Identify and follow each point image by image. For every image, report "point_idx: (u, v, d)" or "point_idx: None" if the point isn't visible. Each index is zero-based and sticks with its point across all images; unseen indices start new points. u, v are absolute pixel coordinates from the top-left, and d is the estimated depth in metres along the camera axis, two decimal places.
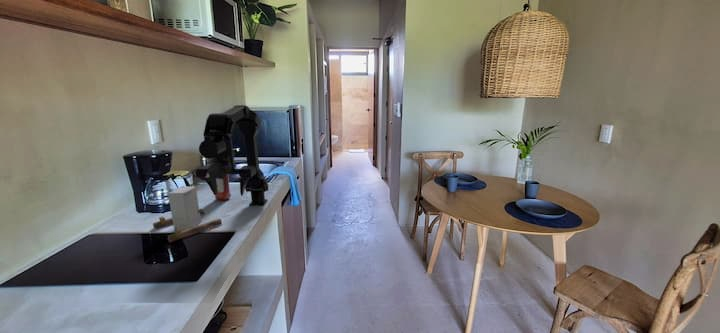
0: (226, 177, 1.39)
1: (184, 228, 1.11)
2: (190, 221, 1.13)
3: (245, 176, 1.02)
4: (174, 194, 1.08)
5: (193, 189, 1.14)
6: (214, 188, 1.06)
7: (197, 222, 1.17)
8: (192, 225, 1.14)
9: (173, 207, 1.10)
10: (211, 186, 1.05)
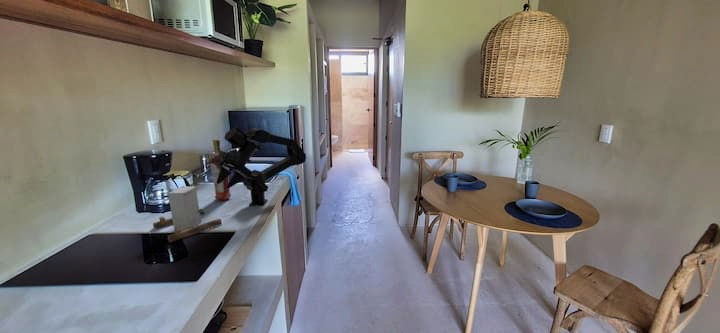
0: None
1: (184, 228, 1.11)
2: (190, 221, 1.13)
3: (237, 168, 1.19)
4: (174, 194, 1.08)
5: (193, 189, 1.14)
6: (220, 177, 1.26)
7: (197, 222, 1.17)
8: (192, 225, 1.14)
9: (173, 207, 1.10)
10: (219, 174, 1.26)
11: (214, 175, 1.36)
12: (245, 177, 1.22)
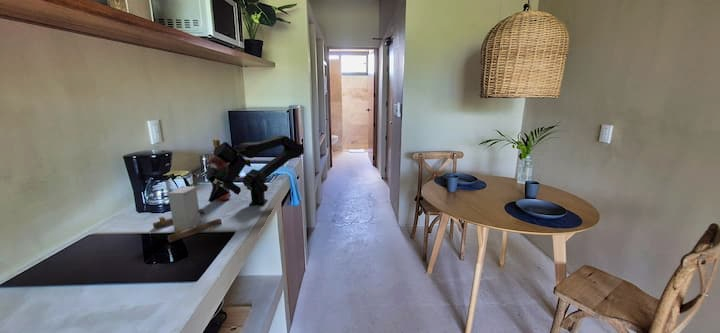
0: None
1: (184, 228, 1.11)
2: (190, 221, 1.13)
3: (225, 185, 1.16)
4: (174, 194, 1.08)
5: (193, 189, 1.14)
6: None
7: (197, 222, 1.17)
8: (192, 225, 1.14)
9: (173, 207, 1.10)
10: (212, 192, 1.21)
11: None
12: (228, 191, 1.22)
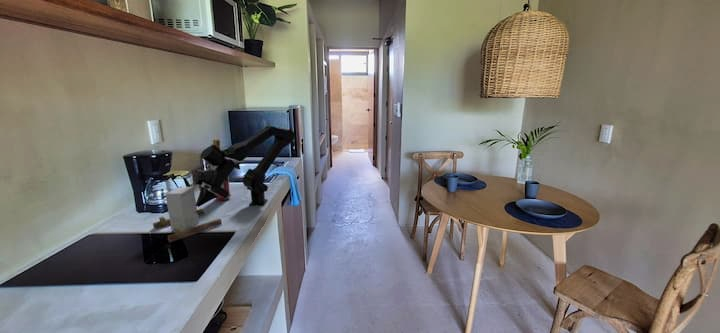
0: None
1: (181, 229, 1.11)
2: (188, 222, 1.12)
3: (212, 189, 1.13)
4: (171, 195, 1.08)
5: (191, 190, 1.13)
6: None
7: (194, 223, 1.16)
8: (189, 226, 1.13)
9: (170, 208, 1.09)
10: (199, 196, 1.18)
11: None
12: (216, 195, 1.18)
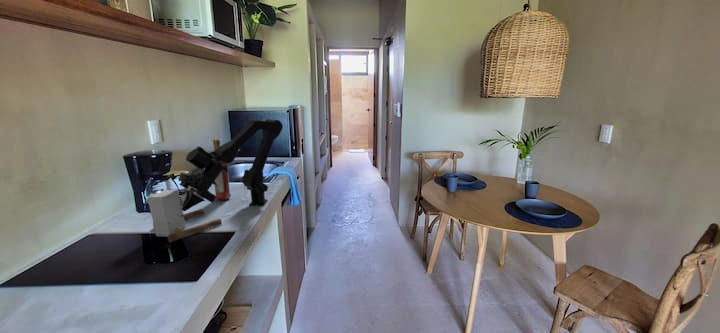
0: (226, 177, 1.39)
1: (165, 233, 1.07)
2: (172, 226, 1.08)
3: (198, 193, 1.09)
4: (153, 198, 1.04)
5: (175, 193, 1.10)
6: None
7: (180, 227, 1.12)
8: None
9: (153, 212, 1.05)
10: (185, 200, 1.14)
11: None
12: (203, 199, 1.15)
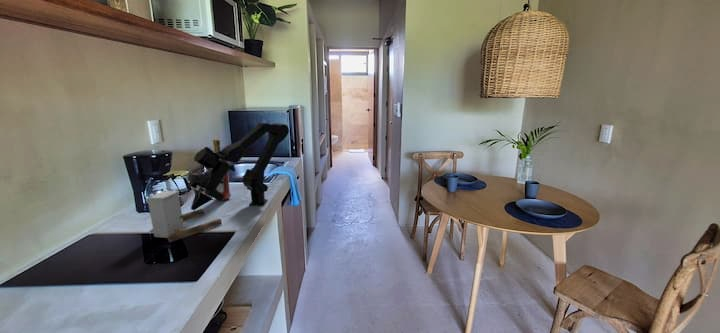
0: (226, 177, 1.39)
1: (164, 234, 1.07)
2: (171, 228, 1.08)
3: (207, 192, 1.11)
4: (154, 199, 1.04)
5: (175, 194, 1.09)
6: None
7: None
8: (173, 231, 1.09)
9: (153, 212, 1.05)
10: (194, 199, 1.17)
11: None
12: (211, 198, 1.17)
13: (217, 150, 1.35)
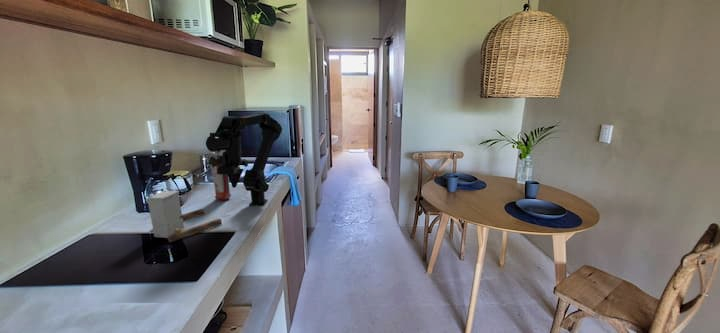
0: (226, 177, 1.39)
1: (164, 235, 1.07)
2: (171, 228, 1.08)
3: None
4: (153, 199, 1.04)
5: (175, 194, 1.09)
6: None
7: None
8: (173, 231, 1.09)
9: (153, 212, 1.05)
10: None
11: (214, 175, 1.36)
12: (235, 172, 1.18)
13: None
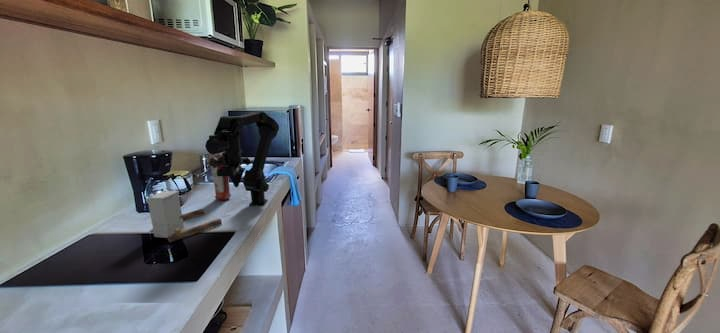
0: (226, 177, 1.39)
1: (164, 235, 1.07)
2: (171, 228, 1.08)
3: None
4: (153, 199, 1.04)
5: (175, 194, 1.09)
6: None
7: None
8: (173, 231, 1.09)
9: (153, 212, 1.05)
10: None
11: (214, 175, 1.36)
12: (236, 173, 1.18)
13: None
